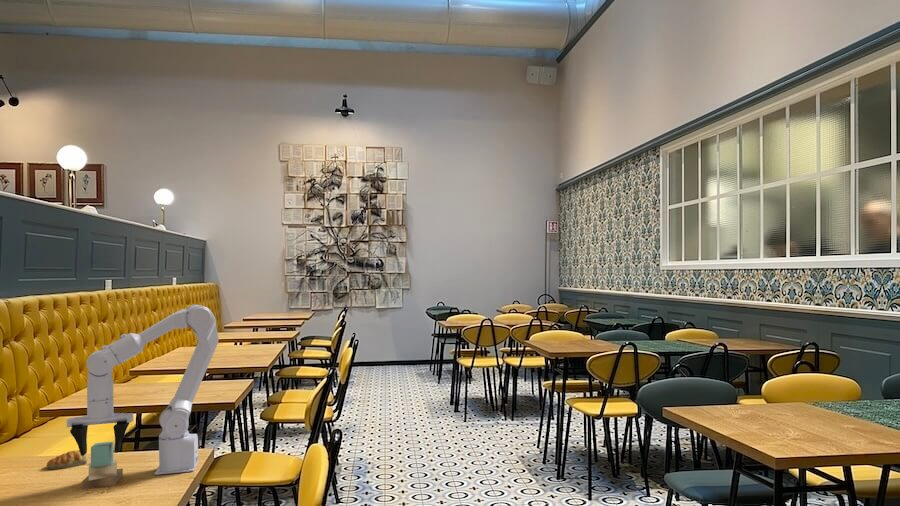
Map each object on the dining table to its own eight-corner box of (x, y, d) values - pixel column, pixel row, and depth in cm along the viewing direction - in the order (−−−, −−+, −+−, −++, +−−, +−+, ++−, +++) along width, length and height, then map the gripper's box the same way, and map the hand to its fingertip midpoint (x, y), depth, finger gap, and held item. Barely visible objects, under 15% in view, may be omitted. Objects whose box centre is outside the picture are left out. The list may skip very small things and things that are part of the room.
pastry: (48, 473, 154) (48, 458, 154) (44, 467, 159) (44, 453, 159) (89, 464, 160) (89, 450, 160) (84, 459, 165) (84, 445, 165)
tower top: (116, 468, 150) (116, 458, 150) (116, 475, 145) (116, 465, 145) (89, 473, 147) (89, 463, 147) (88, 480, 142) (88, 470, 142)
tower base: (122, 478, 150) (122, 468, 150) (114, 488, 143) (113, 477, 143) (92, 481, 148) (92, 471, 148) (82, 491, 141) (82, 481, 141)
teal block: (113, 461, 148) (113, 441, 149) (108, 465, 144) (108, 445, 145) (95, 462, 147) (95, 443, 147) (90, 467, 143) (90, 447, 144)
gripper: (136, 393, 152) (136, 445, 151) (74, 397, 148) (74, 450, 148) (128, 399, 145) (129, 453, 145) (63, 403, 141) (63, 459, 141)
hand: (100, 452), depth 146 cm, fingers open, 7 cm apart
